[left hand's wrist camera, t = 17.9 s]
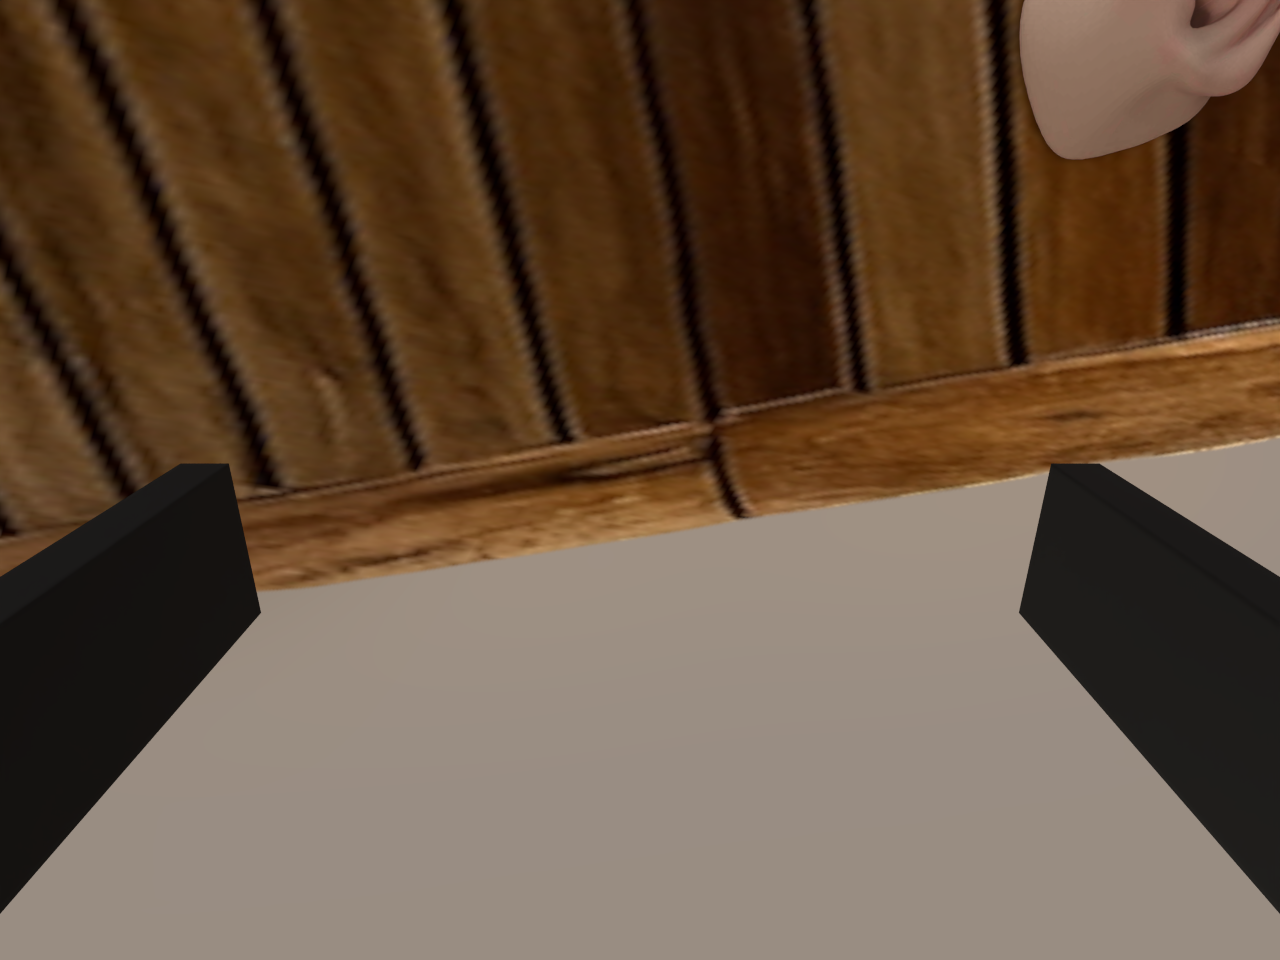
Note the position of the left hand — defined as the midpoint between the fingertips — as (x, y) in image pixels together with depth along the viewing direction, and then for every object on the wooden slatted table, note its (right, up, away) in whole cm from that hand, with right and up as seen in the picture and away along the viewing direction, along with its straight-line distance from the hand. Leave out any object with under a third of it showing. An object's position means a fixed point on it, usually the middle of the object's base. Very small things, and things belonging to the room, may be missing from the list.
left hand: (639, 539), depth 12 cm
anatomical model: (+24, +23, +23) cm, 40 cm away
